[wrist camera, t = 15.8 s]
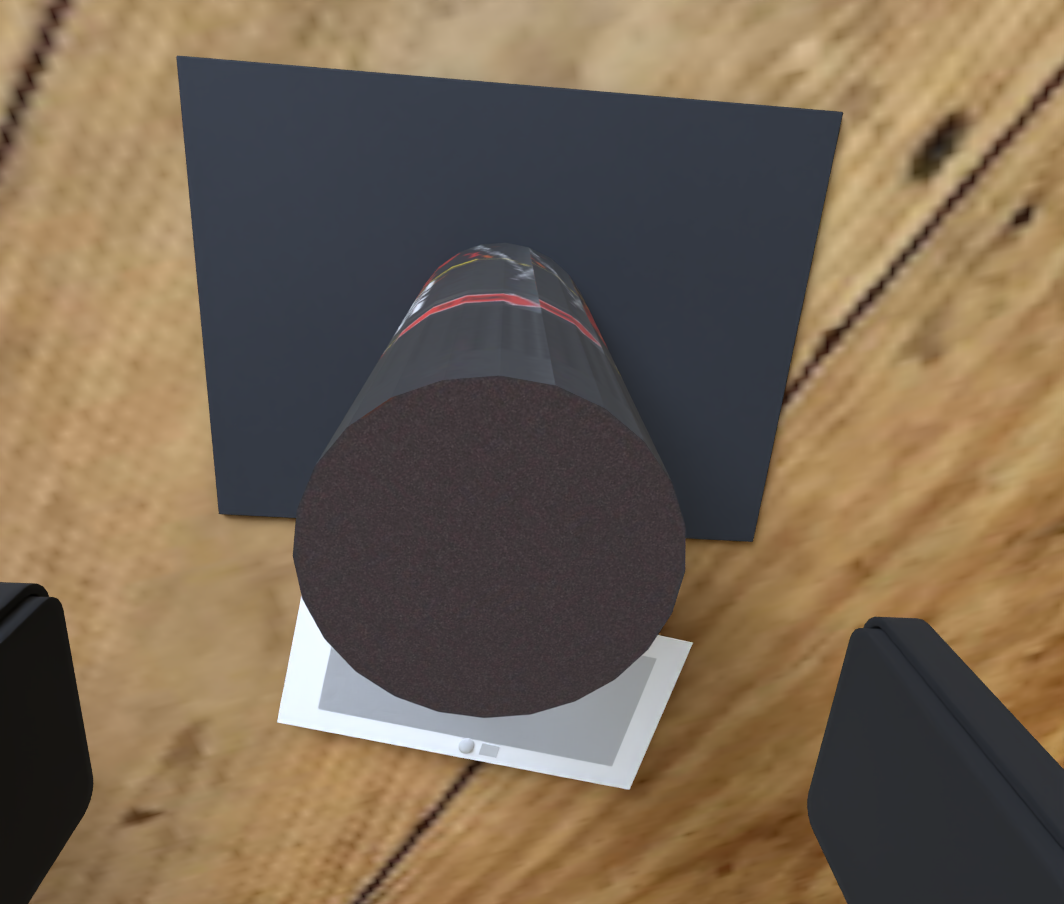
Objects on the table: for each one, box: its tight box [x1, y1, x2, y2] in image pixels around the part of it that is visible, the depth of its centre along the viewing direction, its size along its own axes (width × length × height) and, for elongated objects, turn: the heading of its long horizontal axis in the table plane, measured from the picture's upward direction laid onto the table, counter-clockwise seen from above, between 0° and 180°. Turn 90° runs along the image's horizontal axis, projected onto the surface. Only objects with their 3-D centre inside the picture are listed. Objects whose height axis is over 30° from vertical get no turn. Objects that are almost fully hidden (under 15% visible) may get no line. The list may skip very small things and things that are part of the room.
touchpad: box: [277, 597, 693, 790], centre depth 30 cm, size 8×15×2 cm, turn 74°
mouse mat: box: [177, 56, 843, 542], centre depth 25 cm, size 20×15×1 cm
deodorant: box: [293, 243, 686, 718], centre depth 18 cm, size 6×6×15 cm
